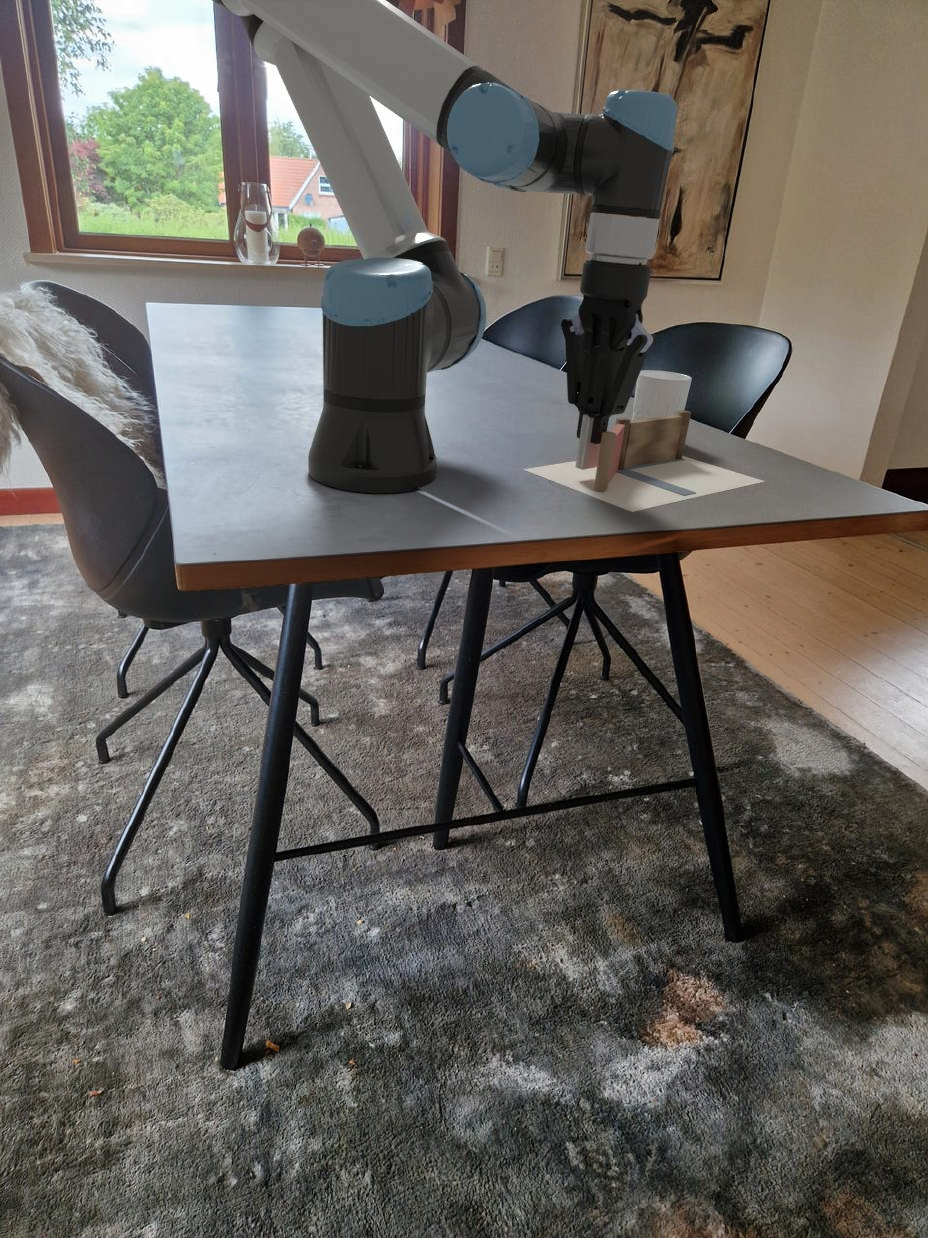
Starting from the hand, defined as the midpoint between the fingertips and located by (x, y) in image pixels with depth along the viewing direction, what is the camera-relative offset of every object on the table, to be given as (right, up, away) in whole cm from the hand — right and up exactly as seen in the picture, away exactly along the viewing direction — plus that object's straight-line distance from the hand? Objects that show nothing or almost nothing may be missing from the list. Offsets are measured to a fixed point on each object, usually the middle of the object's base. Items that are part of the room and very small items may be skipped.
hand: (586, 466), depth 98 cm
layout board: (+8, -1, +4) cm, 9 cm away
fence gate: (+2, -2, 0) cm, 3 cm away
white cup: (+14, +8, +23) cm, 28 cm away
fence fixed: (+10, +2, +9) cm, 14 cm away
